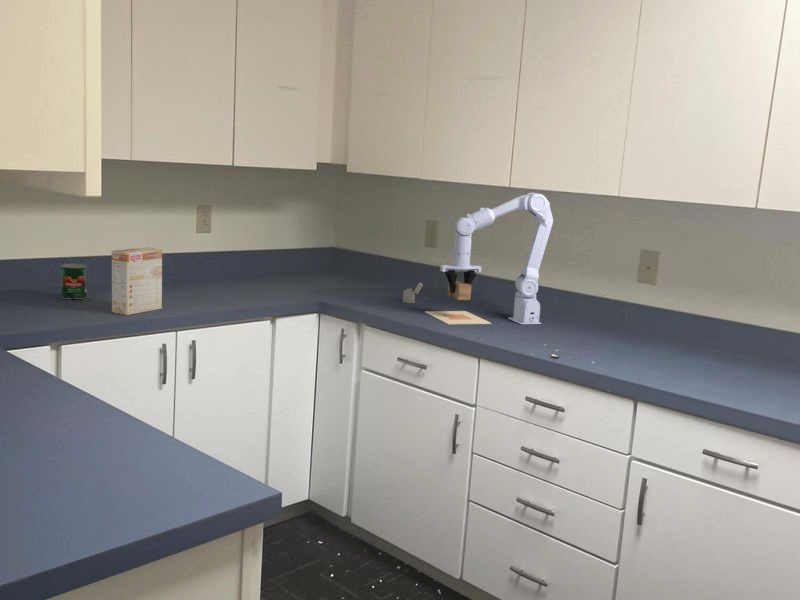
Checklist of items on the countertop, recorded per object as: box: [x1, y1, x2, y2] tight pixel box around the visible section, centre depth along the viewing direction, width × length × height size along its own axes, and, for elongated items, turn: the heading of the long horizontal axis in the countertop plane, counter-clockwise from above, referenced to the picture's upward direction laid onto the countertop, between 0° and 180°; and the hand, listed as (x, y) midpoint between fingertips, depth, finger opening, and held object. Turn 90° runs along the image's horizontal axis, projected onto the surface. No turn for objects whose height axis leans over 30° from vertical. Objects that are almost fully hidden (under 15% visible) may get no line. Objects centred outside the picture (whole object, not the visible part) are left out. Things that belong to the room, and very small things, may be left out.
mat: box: [424, 310, 492, 325], centre depth 276 cm, size 20×16×1 cm
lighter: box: [402, 282, 424, 304], centre depth 298 cm, size 7×2×8 cm, turn 68°
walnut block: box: [447, 280, 473, 301], centre depth 274 cm, size 9×4×5 cm, turn 21°
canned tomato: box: [60, 263, 88, 299], centre depth 267 cm, size 8×8×11 cm
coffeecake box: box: [111, 246, 163, 316], centre depth 253 cm, size 15×7×20 cm, turn 152°
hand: (459, 292), depth 274 cm, fingers closed on walnut block, 4 cm apart
